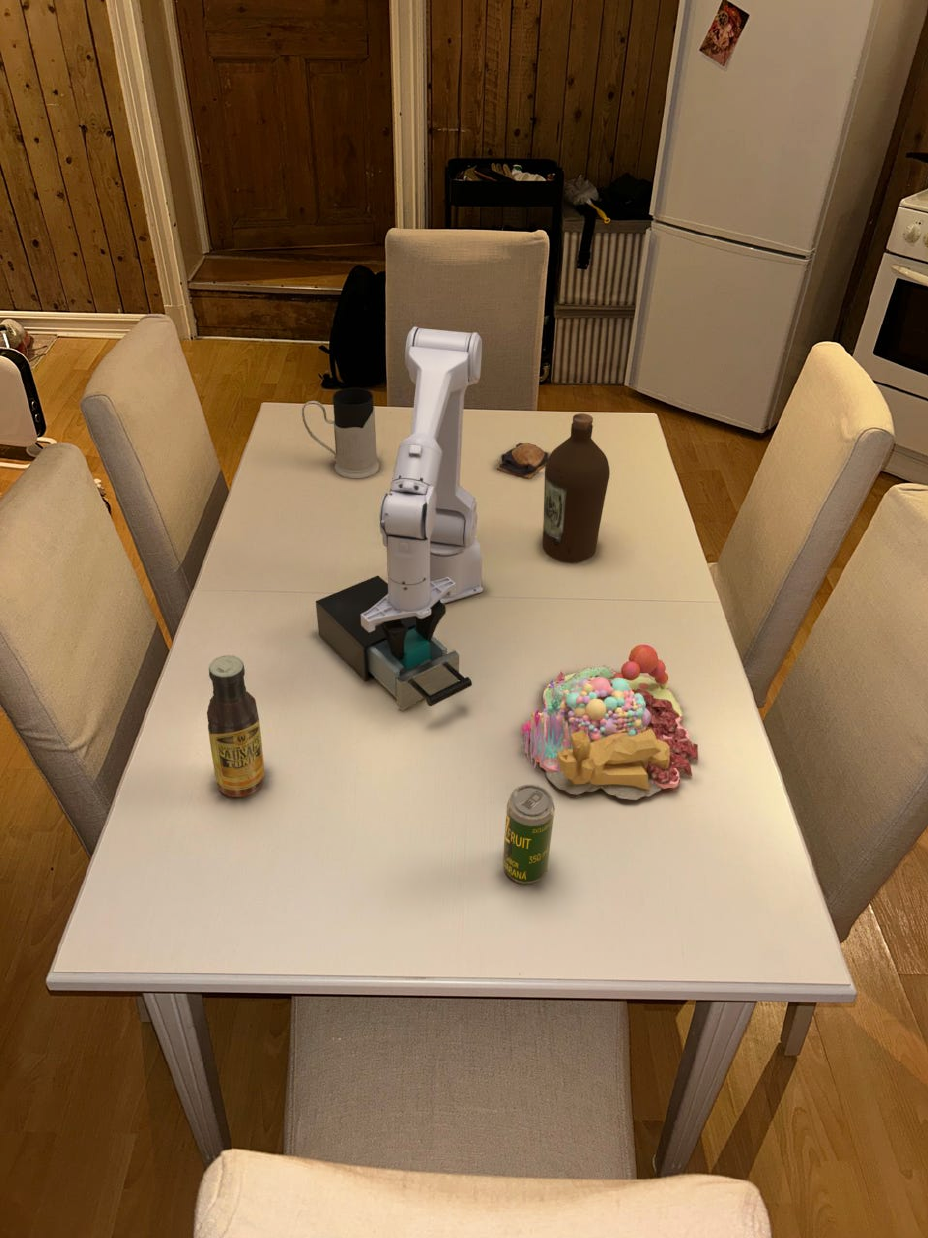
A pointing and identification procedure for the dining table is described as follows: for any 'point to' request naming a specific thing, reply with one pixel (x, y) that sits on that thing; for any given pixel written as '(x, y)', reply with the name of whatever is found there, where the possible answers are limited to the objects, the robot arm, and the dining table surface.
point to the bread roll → (523, 460)
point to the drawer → (418, 674)
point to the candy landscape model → (612, 730)
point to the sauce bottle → (234, 730)
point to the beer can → (528, 833)
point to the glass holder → (352, 432)
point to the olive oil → (574, 494)
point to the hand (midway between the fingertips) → (410, 649)
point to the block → (414, 650)
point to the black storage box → (353, 622)
